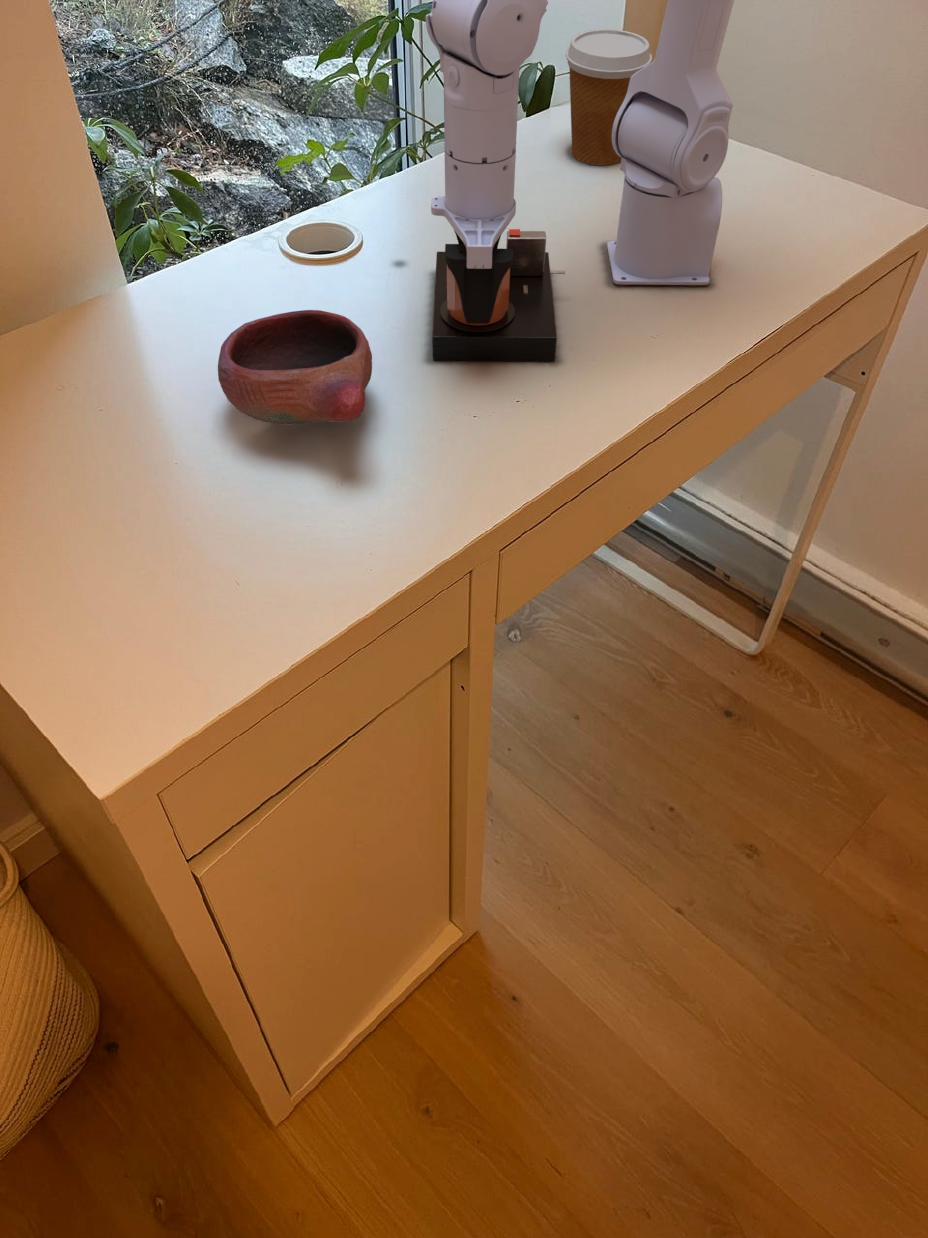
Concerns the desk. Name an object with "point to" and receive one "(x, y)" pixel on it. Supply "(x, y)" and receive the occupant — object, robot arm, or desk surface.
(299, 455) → the desk surface
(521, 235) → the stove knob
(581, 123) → the disposable coffee cup
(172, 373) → the desk surface
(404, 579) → the desk surface
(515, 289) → the stove
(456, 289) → the small cup
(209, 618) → the desk surface
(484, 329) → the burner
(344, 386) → the bowl
